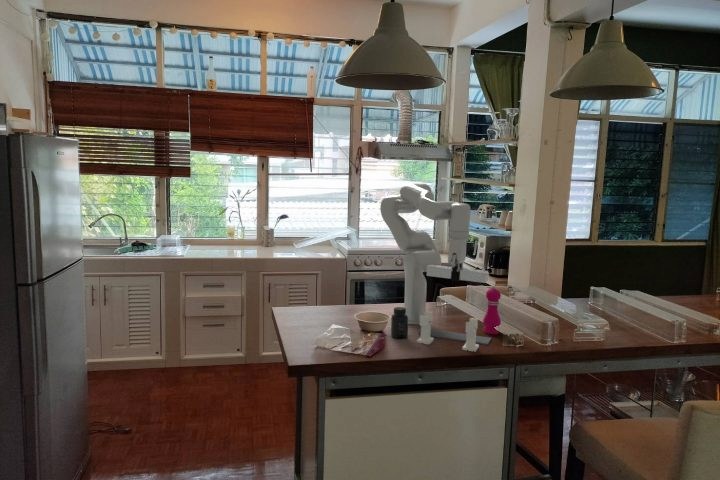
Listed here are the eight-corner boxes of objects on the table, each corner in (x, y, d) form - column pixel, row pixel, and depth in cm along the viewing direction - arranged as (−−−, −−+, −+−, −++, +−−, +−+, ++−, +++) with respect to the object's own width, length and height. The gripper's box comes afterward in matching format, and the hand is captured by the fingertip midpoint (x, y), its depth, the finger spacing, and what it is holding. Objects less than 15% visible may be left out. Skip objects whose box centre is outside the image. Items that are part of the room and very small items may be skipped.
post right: (461, 350, 206) (463, 321, 204) (466, 344, 212) (467, 317, 210) (475, 352, 204) (476, 323, 202) (479, 346, 210) (480, 319, 208)
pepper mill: (500, 335, 225) (503, 287, 222) (482, 333, 226) (485, 286, 224) (499, 330, 232) (502, 284, 229) (482, 328, 233) (484, 283, 231)
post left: (416, 342, 213) (417, 315, 212) (422, 338, 219) (422, 311, 218) (428, 344, 211) (429, 317, 209) (433, 339, 217) (435, 313, 216)
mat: (418, 334, 223) (418, 333, 223) (424, 329, 231) (424, 328, 231) (487, 345, 212) (487, 343, 212) (491, 339, 219) (491, 337, 219)
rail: (426, 275, 221) (427, 266, 220) (429, 273, 225) (430, 264, 224) (485, 282, 211) (486, 272, 210) (487, 280, 214) (488, 271, 214)
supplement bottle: (409, 335, 222) (410, 307, 220) (405, 340, 215) (406, 311, 214) (393, 333, 224) (394, 305, 222) (388, 338, 217) (389, 309, 216)
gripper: (455, 231, 224) (453, 275, 227) (443, 236, 209) (441, 282, 212) (473, 233, 221) (470, 277, 224) (462, 238, 206) (460, 285, 209)
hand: (456, 279), depth 218 cm, fingers closed on rail, 4 cm apart
